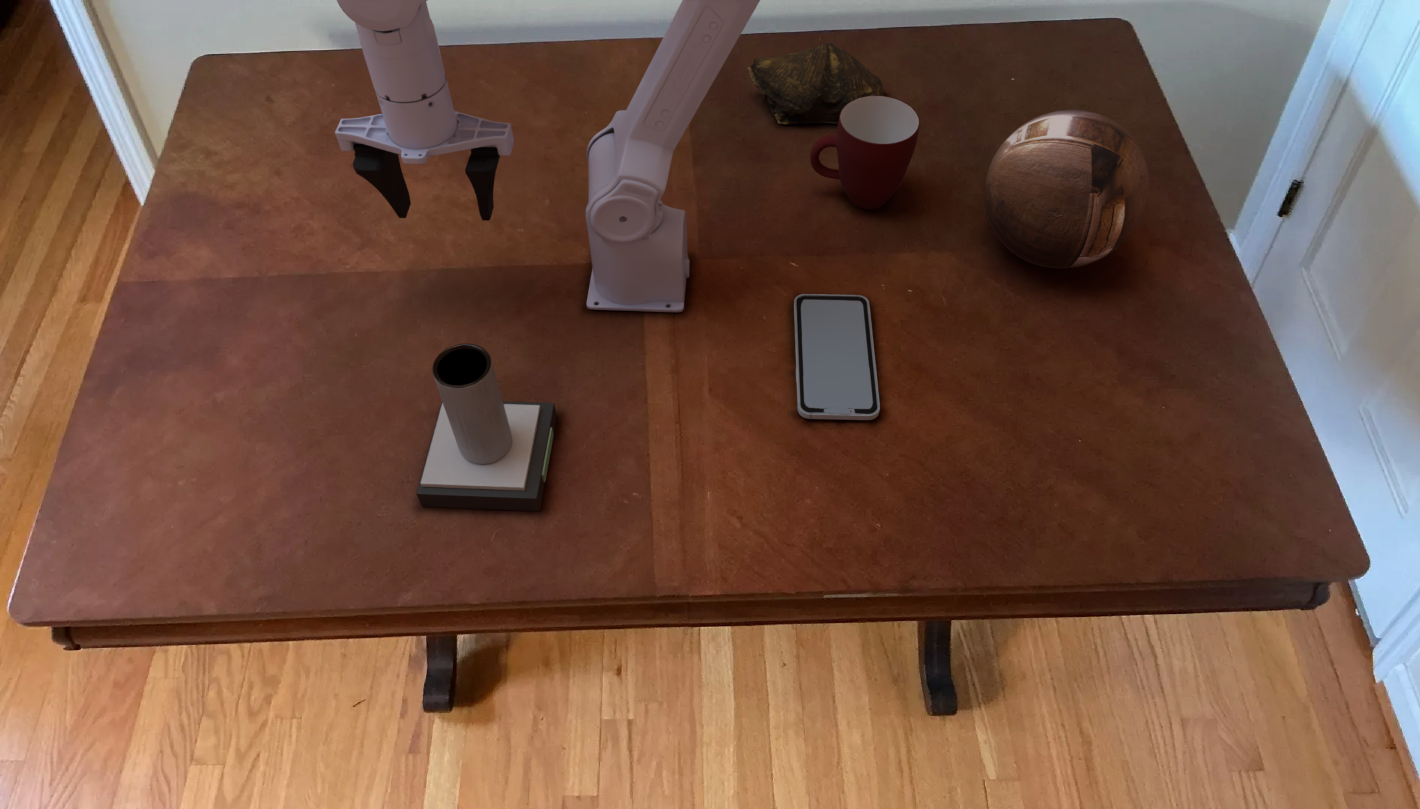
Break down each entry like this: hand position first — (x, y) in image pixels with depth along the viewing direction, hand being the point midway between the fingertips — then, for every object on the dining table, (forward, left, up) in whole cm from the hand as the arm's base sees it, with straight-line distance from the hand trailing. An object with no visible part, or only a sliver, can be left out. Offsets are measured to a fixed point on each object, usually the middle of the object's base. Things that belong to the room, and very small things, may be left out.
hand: (446, 212), depth 91 cm
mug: (-39, -16, -11) cm, 43 cm away
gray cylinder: (-6, +20, -8) cm, 22 cm away
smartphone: (-36, +7, -10) cm, 38 cm away
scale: (-6, +20, -10) cm, 23 cm away
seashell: (-35, -32, -11) cm, 49 cm away
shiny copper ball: (-58, -9, -11) cm, 60 cm away
